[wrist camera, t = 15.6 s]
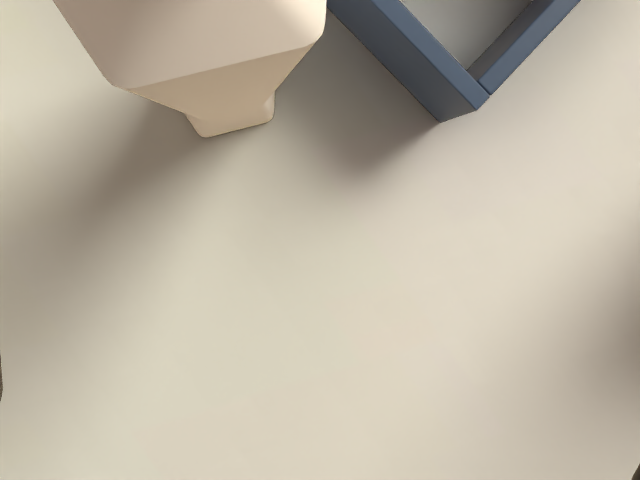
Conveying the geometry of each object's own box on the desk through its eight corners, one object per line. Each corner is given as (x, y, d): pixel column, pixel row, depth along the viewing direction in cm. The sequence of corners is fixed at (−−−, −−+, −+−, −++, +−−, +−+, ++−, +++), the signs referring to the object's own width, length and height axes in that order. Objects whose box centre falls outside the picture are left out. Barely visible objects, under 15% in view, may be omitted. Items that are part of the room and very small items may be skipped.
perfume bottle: (321, 100, 21) (499, -126, 6) (211, 171, 20) (100, 126, 6) (246, -21, 20) (228, -621, 5) (132, 50, 20) (-232, -361, 5)
